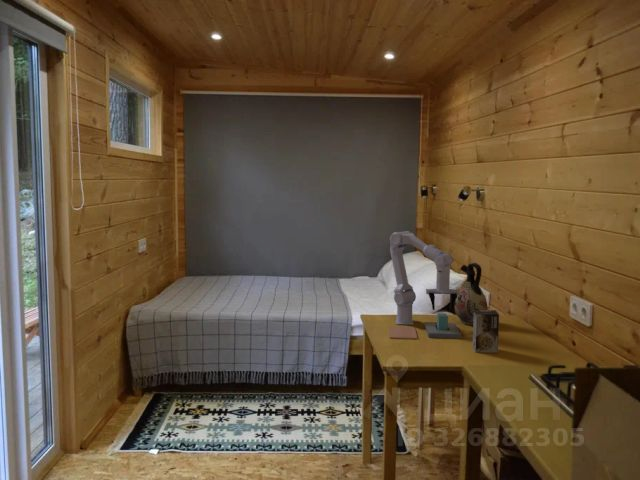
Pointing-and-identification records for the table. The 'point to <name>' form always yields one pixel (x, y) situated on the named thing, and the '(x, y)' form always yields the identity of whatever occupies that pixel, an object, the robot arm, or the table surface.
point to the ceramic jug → (470, 295)
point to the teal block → (442, 321)
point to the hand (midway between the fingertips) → (442, 309)
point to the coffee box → (485, 331)
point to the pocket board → (442, 331)
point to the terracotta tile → (402, 333)
